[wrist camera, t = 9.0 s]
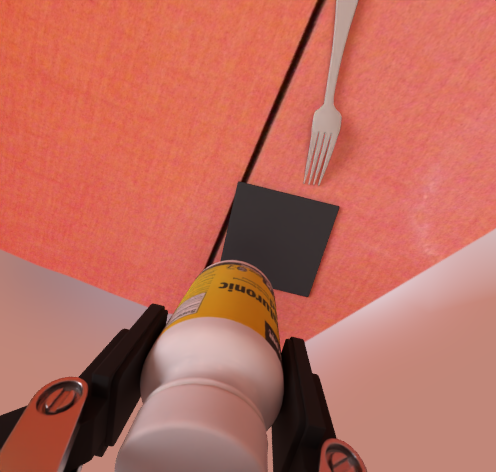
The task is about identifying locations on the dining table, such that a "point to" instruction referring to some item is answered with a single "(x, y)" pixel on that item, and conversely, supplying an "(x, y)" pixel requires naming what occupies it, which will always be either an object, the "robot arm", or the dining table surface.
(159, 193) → the dining table surface
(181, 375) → the supplement bottle
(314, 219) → the mat
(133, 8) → the dining table surface
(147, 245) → the dining table surface
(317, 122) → the fork
